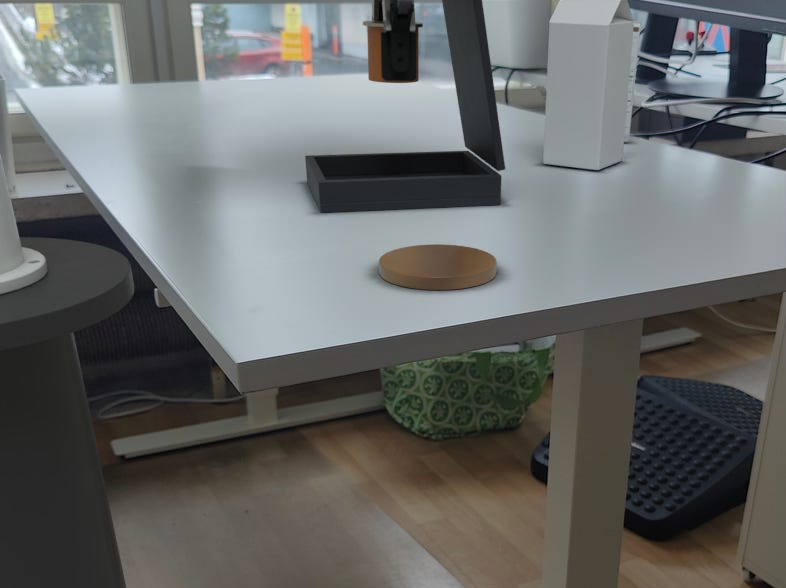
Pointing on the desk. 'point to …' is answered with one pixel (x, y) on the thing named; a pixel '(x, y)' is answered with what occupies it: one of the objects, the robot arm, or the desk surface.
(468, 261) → the coaster
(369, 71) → the coffee pod
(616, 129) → the milk carton
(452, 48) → the holder lid
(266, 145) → the desk surface
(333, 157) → the tray
